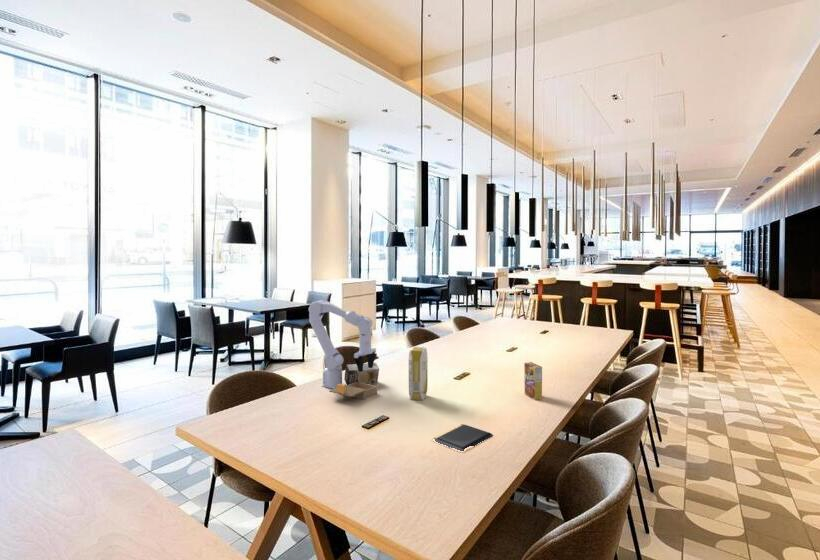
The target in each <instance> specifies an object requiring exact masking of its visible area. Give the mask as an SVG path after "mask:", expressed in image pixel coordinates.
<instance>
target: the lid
mask: <svg viewBox="0 0 820 560" xmlns="http://www.w3.org/2000/svg"><path fill="white" fill-rule="evenodd" d="M342 384H343V383H342ZM342 384H337V388H334V389H332V388H331V389H329V390H328V392H330V393H333V394H338V395H342V396H347V397H350V398H351V397H352V396H355V395H357V394H359V393H362V392H364V391H366V389H361V388H357V387H353V386H348V385H342Z"/></svg>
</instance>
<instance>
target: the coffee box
mask: <svg viewBox="0 0 820 560" xmlns="http://www.w3.org/2000/svg"><path fill="white" fill-rule="evenodd" d="M344 369H345V370H344V371H345V372H344V379H343V380H344V382H345V384H346V385H349V384H351V383H354V382H360V383H365V384H369V385H374V384H378V383H379V382H378V381H379V375H380V374H379V373H380V367H379V365H378V364H377V362H374V363H373V367H372V368H368V362H367V363H365V362H364V363H363V371H362V372H360V371H358V367H357V364H356V363H353V364H352V363H349V364H345V368H344Z"/></svg>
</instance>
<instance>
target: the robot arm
mask: <svg viewBox="0 0 820 560" xmlns="http://www.w3.org/2000/svg"><path fill="white" fill-rule="evenodd" d="M308 312H309V313H308V316H309V317H308V321H309V324H310V325H311V328H312V329H313V332H314V334H315V337H316V339H317V340H318V343H319V344H320V346H321V348H322V350H323V353H324V356H323V359H324V361H325V362H324V363H325V368H324V369H323V371H322V385H321V387H324V388H329V389H331V390H332V389H334V388H337V384H342V385H346V383H343V366H342V365H343V364H344V357H343V355H342V354H341V353H340V351H339V350H338V349H336V348H335V347H334V344H333V342H332V341H331V338H330V336H329V335H328V333H327V332H328V331H327V330H326V328H325V326H324V324H323V322H322V318H323V316H324V315H325V314H326V313H331V314H334V315H335V316H338V317H341V318H344V321H345V322H346V323H349V324H351V325H352V326H355V327H357V329H358V330H359V332H358V333H359V335H358V336H359V337H358V341H359V345H358V346H359V348H358V349H359V350H358V351H356V352H355V353H353V360H354V362H355V364H357V367H358V371H360V372H362V371H363V364H365V358H364V356H366V360H367V363H368V368H372V367H373V363H375V360H376V358H377V356H378V355H377V348H373V347H372V327H373V326H372V325H373V320H372V319H371V318H370V317H368V316H364V315H361V314H358V313H357V312H356V310H349V311H347V310H344V309H342V307H339V306H337V305H336V304H333V303H331V302H330V301H327V300H325V299H319V300H317V301H313V302H311V303H310V305H309V307H308Z"/></svg>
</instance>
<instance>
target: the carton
mask: <svg viewBox="0 0 820 560" xmlns="http://www.w3.org/2000/svg"><path fill="white" fill-rule="evenodd" d="M348 386H353V387H357V388H361V389H366V391H364V392H362V393H359V394H357V395H355V396H352V397H354V398H357V399H361V400H365V399H367V398H369V397H372V396H374V395H377V394H378V386H377V385H374V384H365V383H360V382H354V383H351V384H349V385H348Z"/></svg>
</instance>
